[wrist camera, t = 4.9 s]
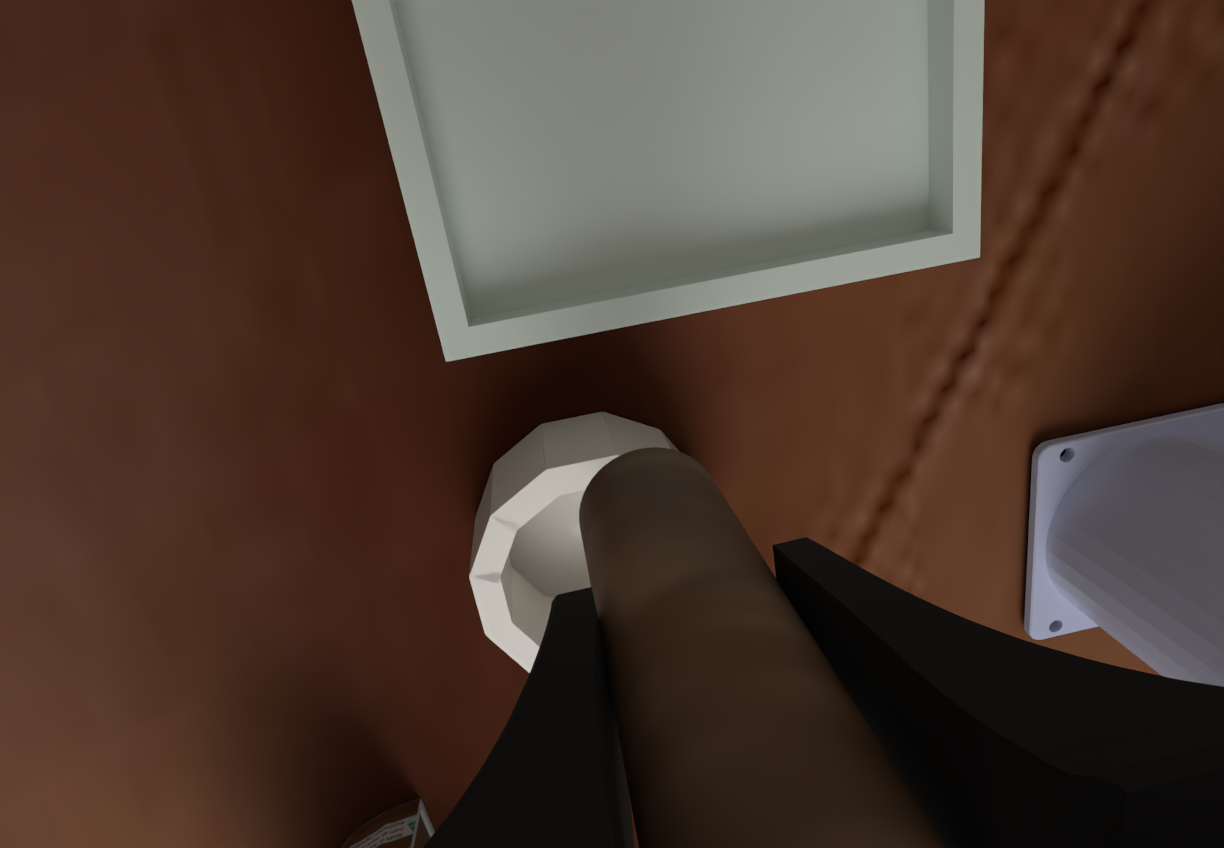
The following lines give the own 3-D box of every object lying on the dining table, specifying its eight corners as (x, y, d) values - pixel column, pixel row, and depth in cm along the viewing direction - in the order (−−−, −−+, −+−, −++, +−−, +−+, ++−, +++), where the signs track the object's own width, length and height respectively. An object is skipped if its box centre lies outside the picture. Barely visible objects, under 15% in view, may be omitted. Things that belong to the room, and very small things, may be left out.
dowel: (710, 434, 16) (1001, 832, 6) (727, 558, 17) (994, 1051, 8) (566, 464, 15) (649, 922, 6) (592, 588, 17) (695, 1133, 7)
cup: (685, 394, 22) (715, 434, 19) (712, 589, 25) (743, 654, 22) (454, 441, 22) (444, 490, 19) (506, 635, 24) (505, 708, 21)
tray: (943, -198, 18) (988, -235, 16) (943, 249, 22) (979, 257, 20) (336, -104, 17) (316, -134, 15) (451, 345, 21) (445, 361, 19)
